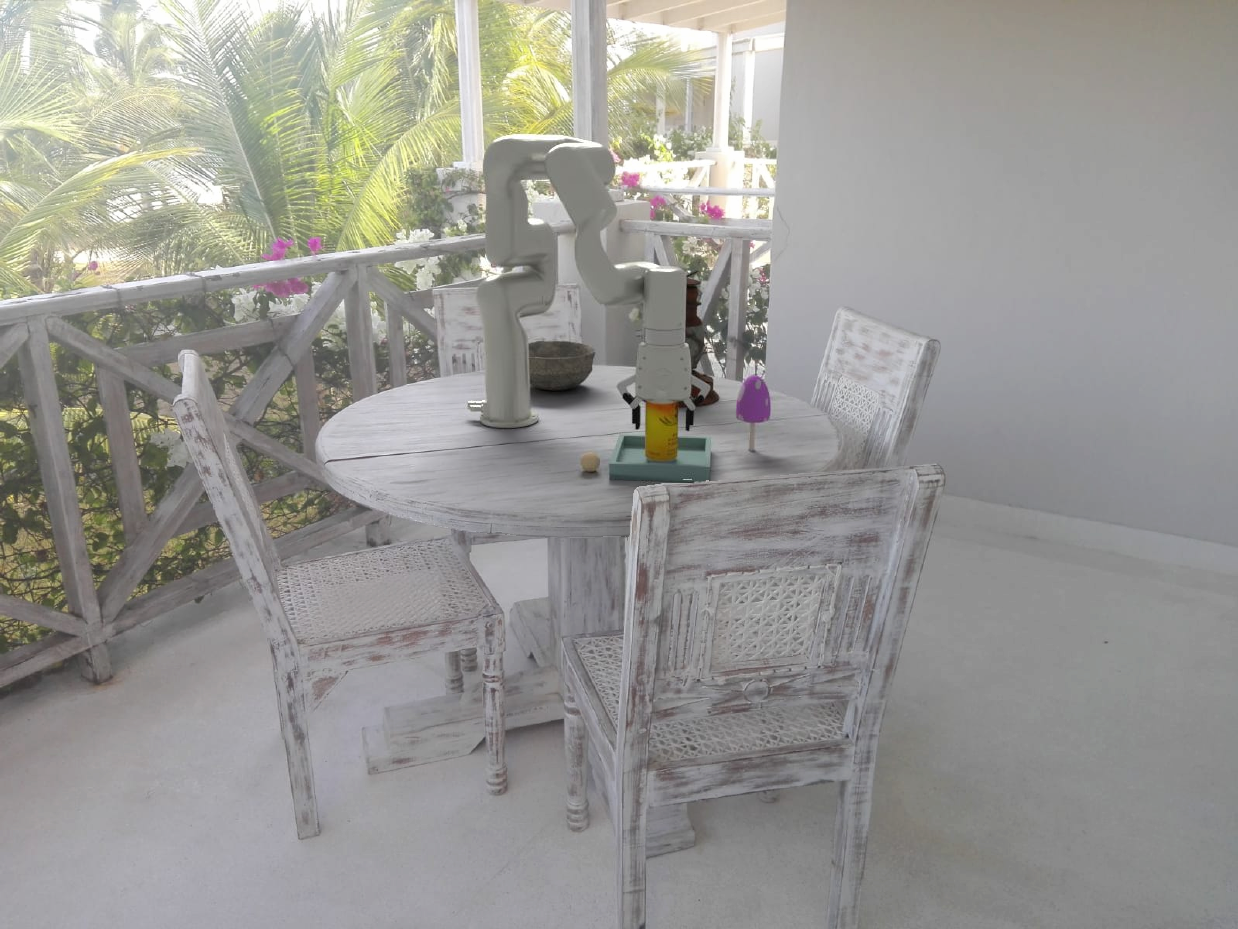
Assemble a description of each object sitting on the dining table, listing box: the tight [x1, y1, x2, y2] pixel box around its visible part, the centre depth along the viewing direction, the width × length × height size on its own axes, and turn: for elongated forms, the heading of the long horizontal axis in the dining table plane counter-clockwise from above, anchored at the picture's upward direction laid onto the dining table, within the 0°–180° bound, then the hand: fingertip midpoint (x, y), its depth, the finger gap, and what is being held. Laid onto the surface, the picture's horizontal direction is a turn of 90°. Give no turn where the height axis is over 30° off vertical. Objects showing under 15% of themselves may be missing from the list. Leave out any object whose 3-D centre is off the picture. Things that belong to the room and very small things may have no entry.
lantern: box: [641, 270, 720, 409], centre depth 220 cm, size 19×19×30 cm
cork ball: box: [580, 451, 601, 473], centre depth 174 cm, size 4×4×4 cm
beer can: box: [644, 389, 679, 464], centre depth 175 cm, size 6×6×15 cm
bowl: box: [528, 340, 597, 391], centre depth 231 cm, size 21×21×10 cm
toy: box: [735, 374, 772, 452], centre depth 184 cm, size 7×7×15 cm
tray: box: [608, 433, 712, 483], centre depth 177 cm, size 18×18×3 cm
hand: (662, 428), depth 175 cm, fingers open, 9 cm apart
